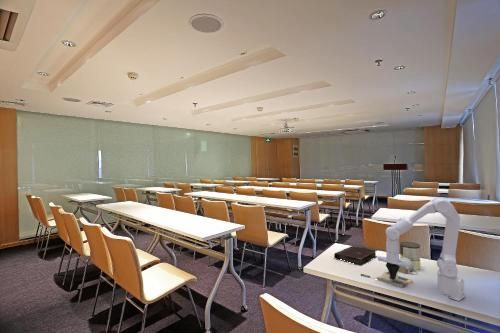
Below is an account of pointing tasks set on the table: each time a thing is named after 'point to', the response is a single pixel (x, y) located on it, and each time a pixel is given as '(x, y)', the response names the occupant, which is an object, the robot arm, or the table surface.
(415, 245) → the coffee can
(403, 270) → the ceramic mug
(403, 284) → the switch bank
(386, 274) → the tab
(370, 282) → the table surface
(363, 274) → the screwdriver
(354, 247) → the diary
